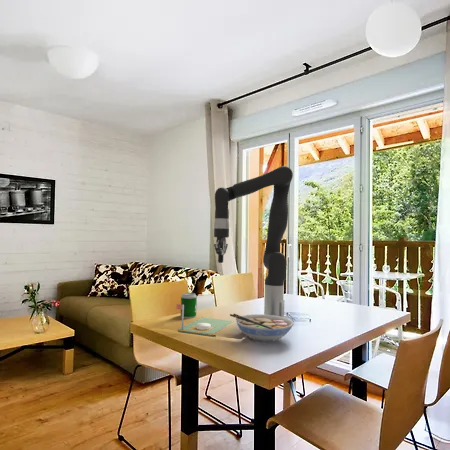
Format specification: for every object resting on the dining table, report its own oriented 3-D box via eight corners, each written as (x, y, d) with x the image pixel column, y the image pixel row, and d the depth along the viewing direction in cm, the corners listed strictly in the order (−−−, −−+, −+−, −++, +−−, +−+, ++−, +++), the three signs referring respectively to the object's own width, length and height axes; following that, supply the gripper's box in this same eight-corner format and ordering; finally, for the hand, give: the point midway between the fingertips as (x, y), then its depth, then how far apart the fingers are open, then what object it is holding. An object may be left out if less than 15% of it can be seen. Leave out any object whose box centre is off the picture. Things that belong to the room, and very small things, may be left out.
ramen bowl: (308, 343, 133) (308, 322, 134) (261, 353, 121) (261, 329, 121) (266, 328, 154) (266, 309, 155) (222, 335, 142) (222, 315, 142)
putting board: (233, 323, 161) (234, 299, 162) (213, 337, 139) (214, 308, 139) (199, 319, 168) (200, 296, 168) (174, 331, 145) (175, 304, 146)
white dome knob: (212, 329, 150) (212, 323, 150) (207, 333, 144) (207, 326, 144) (199, 328, 152) (199, 322, 152) (194, 331, 146) (194, 325, 146)
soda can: (193, 321, 164) (194, 295, 165) (178, 319, 166) (179, 294, 166) (198, 317, 172) (198, 293, 172) (183, 316, 173) (184, 292, 174)
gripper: (223, 227, 168) (222, 263, 167) (233, 228, 180) (232, 262, 179) (209, 227, 170) (208, 263, 170) (219, 228, 183) (218, 261, 182)
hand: (220, 262), depth 175 cm, fingers closed
